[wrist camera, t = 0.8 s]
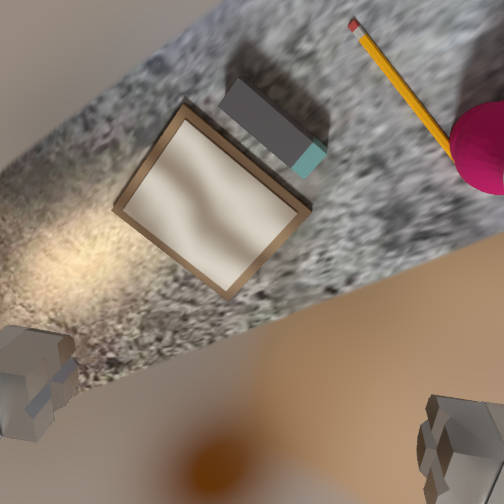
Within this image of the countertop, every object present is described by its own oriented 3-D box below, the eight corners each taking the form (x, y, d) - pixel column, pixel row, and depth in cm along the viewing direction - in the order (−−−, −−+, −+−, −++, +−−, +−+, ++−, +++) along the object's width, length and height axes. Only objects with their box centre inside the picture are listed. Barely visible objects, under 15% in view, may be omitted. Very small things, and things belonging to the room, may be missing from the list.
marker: (244, 76, 40) (238, 77, 37) (327, 147, 41) (326, 154, 39) (225, 102, 41) (217, 106, 39) (306, 171, 43) (304, 179, 40)
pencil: (354, 19, 37) (355, 18, 37) (486, 188, 41) (488, 190, 40) (347, 26, 37) (347, 25, 37) (478, 194, 41) (480, 196, 40)
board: (184, 103, 42) (182, 104, 41) (312, 210, 44) (311, 212, 43) (113, 208, 48) (110, 211, 47) (229, 298, 50) (227, 302, 49)
